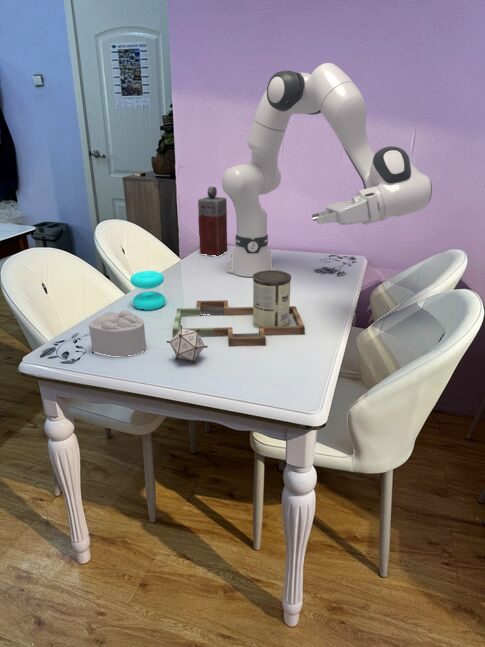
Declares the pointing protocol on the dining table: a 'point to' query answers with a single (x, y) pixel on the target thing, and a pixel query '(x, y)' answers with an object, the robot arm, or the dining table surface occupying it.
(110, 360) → the dining table surface
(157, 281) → the donuts
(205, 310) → the brown wooden frame
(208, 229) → the red grey square bottle
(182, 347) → the game die
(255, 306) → the coffee can
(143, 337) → the lumpy-topped squat cylinder
